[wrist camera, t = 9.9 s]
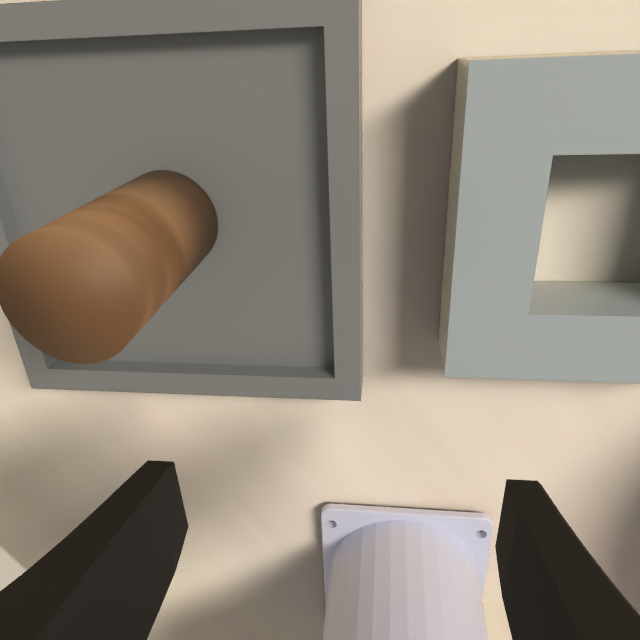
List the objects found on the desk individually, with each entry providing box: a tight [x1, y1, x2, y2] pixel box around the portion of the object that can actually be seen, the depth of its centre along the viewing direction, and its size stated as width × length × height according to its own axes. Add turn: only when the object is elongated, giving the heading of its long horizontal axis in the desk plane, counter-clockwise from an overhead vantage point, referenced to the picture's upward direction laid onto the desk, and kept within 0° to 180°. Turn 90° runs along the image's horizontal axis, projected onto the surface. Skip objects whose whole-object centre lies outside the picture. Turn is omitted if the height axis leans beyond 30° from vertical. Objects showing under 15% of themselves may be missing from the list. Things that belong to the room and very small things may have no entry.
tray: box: [0, 0, 363, 401], centre depth 19 cm, size 14×14×2 cm
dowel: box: [0, 170, 218, 364], centre depth 16 cm, size 4×4×7 cm
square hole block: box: [438, 51, 640, 384], centre depth 17 cm, size 10×10×3 cm
